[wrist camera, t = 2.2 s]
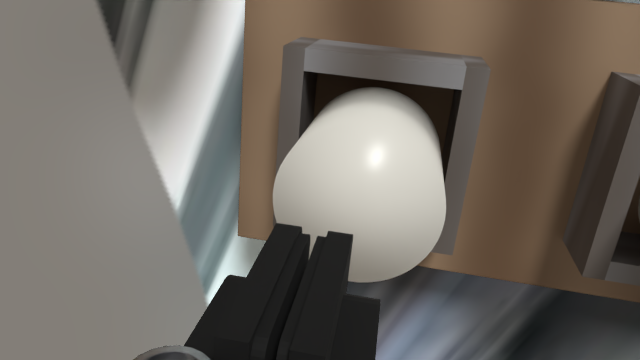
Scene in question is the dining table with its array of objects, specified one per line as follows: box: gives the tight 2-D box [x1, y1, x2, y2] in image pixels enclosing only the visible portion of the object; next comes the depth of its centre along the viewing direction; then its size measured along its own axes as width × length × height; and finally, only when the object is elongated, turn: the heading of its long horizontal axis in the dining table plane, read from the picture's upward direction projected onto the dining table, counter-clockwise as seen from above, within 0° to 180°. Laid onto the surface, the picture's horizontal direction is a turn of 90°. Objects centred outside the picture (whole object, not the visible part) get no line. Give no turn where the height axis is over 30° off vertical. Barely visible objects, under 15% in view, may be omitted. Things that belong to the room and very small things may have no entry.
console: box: [238, 0, 640, 303], centre depth 23 cm, size 24×12×9 cm, turn 84°
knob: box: [273, 87, 446, 282], centre depth 17 cm, size 5×5×5 cm
